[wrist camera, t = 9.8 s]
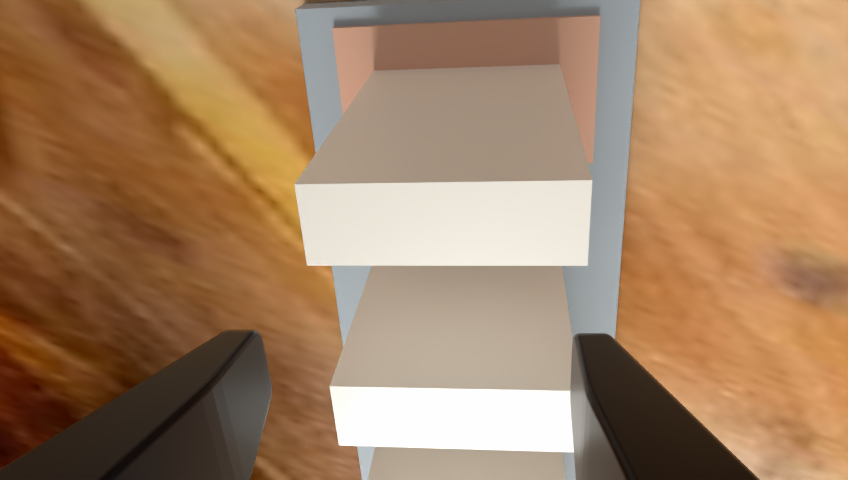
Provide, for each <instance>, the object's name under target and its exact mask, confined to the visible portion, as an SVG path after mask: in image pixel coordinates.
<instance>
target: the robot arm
mask: <svg viewBox="0 0 848 480" xmlns="http://www.w3.org/2000/svg"><path fill="white" fill-rule="evenodd" d="M271 389H272V388H271V379H270V374H269V369H268V364H267V359H266V355H265V350H264V345H263V341H262V338H261V336H260V334H259V333H258V332H257V331H255V330H226V331H224V332H222V333H220V334H219V335H217V336H215V337H214V338H212V339H211V340H209V341H207V342H206V343H204V344H202V345H201V346H199V347H198V348H196V349H194V350H193V351H191V352H189V353H188V354H186V355H185V356H183V357H181V358H180V359H178V360H177V361H175V362H173V363H172V364H170V365H168V366H167V367H165V368H164V369H162V370H160V371H159V372H157V373H155V374H154V375H152V376H151V377H149V378H147V379H146V380H144V381H142V382H141V383H139V384H138V385H136V386H134V387H133V388H131V389H130V390H128V391H126V392H125V393H123V394H121V395H120V396H118V397H117V398H115V399H113V400H112V401H110V402H108V403H107V404H105V405H104V406H102V407H100V408H99V409H97V410H95V411H94V412H92V413H91V414H89V415H87V416H86V417H84V418H83V419H81V420H79V421H78V422H76V423H74V424H73V425H71V426H70V427H68V428H66V429H65V430H63V431H61V432H60V433H58V434H57V435H55V436H53V437H52V438H50V439H48V440H47V441H45V442H44V443H42V444H40V445H39V446H37V447H35V448H34V449H32V450H31V451H29V452H27V453H26V454H24V455H23V456H21V457H19V458H18V459H16V460H14V461H13V462H11V463H10V464H8V465H6V466H5V467H3V468H1V469H0V480H250V478H251V474H252V471H253V467H254V463H255V459H256V455H257V451H258V447H259V443H260V439H261V435H262V431H263V428H264V424H265V420H266V416H267V412H268V408H269V404H270V400H271ZM570 404H571V419H572V433H573V447H574V461H575V475H576V480H759V479H758V478H757V477H756V476H755V475H754V474H753V473H752V472H751V471H750V470H749V469H748V468H747V467H746V466H745V465H744V464H743V463H742V462H741V461H740V460H739V459H738V458H737V457H736V456H735V455H734V454H733V453H732V452H731V451H730V450H728V449H727V448H726V447H725V446H724V445H723V444H722V443H721V442H720V441H719V440H718V439H717V438H716V437H715V436H714V435H713V434H712V433H711V432H710V431H709V430H708V429H707V428H706V427H705V426H704V425H703V424H702V423H701V422H700V421H699V420H698V419H696V418H695V417H694V416H693V415H692V414H691V413H690V412H689V411H688V410H687V409H686V408H685V407H684V406H683V405H682V404H681V403H680V402H679V401H678V400H677V399H676V398H675V397H674V396H673V395H672V394H671V393H670V392H669V391H668V390H667V389H665V388H664V387H663V386H662V385H661V384H660V383H659V382H658V381H657V380H656V379H655V378H654V377H653V376H652V375H651V374H650V373H649V372H648V371H647V370H646V369H645V368H644V367H643V366H642V365H641V364H640V363H639V362H638V361H637V360H636V359H634V358H633V357H632V356H631V355H630V354H629V353H628V352H627V351H626V350H625V349H624V348H623V347H622V346H621V345H620V344H619V343H618V342H617V341H616V340H615V339H614V338H613V337H612V336H610V335H609V334H606V333H577V334H575V335H574V337H573V342H572V360H571V384H570Z"/></svg>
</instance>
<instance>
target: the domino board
mask: <svg viewBox="0 0 848 480" xmlns="http://www.w3.org/2000/svg"><path fill="white" fill-rule="evenodd" d="M295 12H296V19H297V26H298V33H299V40H300V47H301V54H302V61H303V68H304V75H305V82H306V89H307V96H308V103H309V110H310V117H311V124H312V131H313V138H314V145H315V152H316V153H317V151H318V150H319V148H320V147H321V145H322V144H323V143H324V141H325V140H326V138H327V137H328V135H329V134H330V133H331V131H332V130H333V128H334V127H335V125H336V124H337V122H338V121H339V120H340V118H341V117H342V115H343V114H344V112H345V111H346V110H347V108H348V107H349V105H350V104H351V102H352V101H353V100H354V98H355V97H356V95H357V94H358V92H359V91H360V89H361V88H362V87H363V85H364V84H365V82H366V81H367V79H368V78H369V77H370V75H371V74H372V72H373V71H374V70H403V69H433V68H462V67H491V66H521V65H550V64H560V67H561V70H562V74H563V77H564V81H565V85H566V88H567V92H568V95H569V99H570V102H571V106H572V109H573V113H574V117H575V120H576V124H577V127H578V131H579V134H580V138H581V141H582V145H583V149H584V152H585V156H586V159H587V163H588V166H589V170H590V174H591V177H592V196H591V214H590V232H589V250H588V266H562V268H563V275H564V282H565V289H566V296H567V303H568V310H569V317H570V324H571V331H572V338H573V337H574V335H575V334H577V333H606V334H609V335H610V336H612V337H613V338H614V339H615V333H616V319H617V306H618V293H619V279H620V266H621V253H622V239H623V226H624V213H625V199H626V186H627V173H628V159H629V146H630V133H631V119H632V106H633V93H634V79H635V66H636V53H637V39H638V26H639V12H640V0H366V1H347V2H327V3H307V4H303V5H302V6H300V7H299V8H297V9H295ZM371 267H372V266H332V272H333V279H334V286H335V293H336V300H337V307H338V314H339V321H340V328H341V335H342V342H343V347H344V344H345V341H346V338H347V335H348V333H349V330H350V327H351V324H352V321H353V318H354V315H355V313H356V310H357V307H358V304H359V301H360V298H361V295H362V293H363V290H364V287H365V284H366V281H367V278H368V275H369V273H370V270H371ZM357 448H358V455H359V462H360V469H361V476H362V480H368V476H369V471H370V467H371V463H372V458H373V454H374V450H375V447H372V446H357ZM563 461H564V471H565V480H576V475H575V461H574V452H563Z"/></svg>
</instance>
